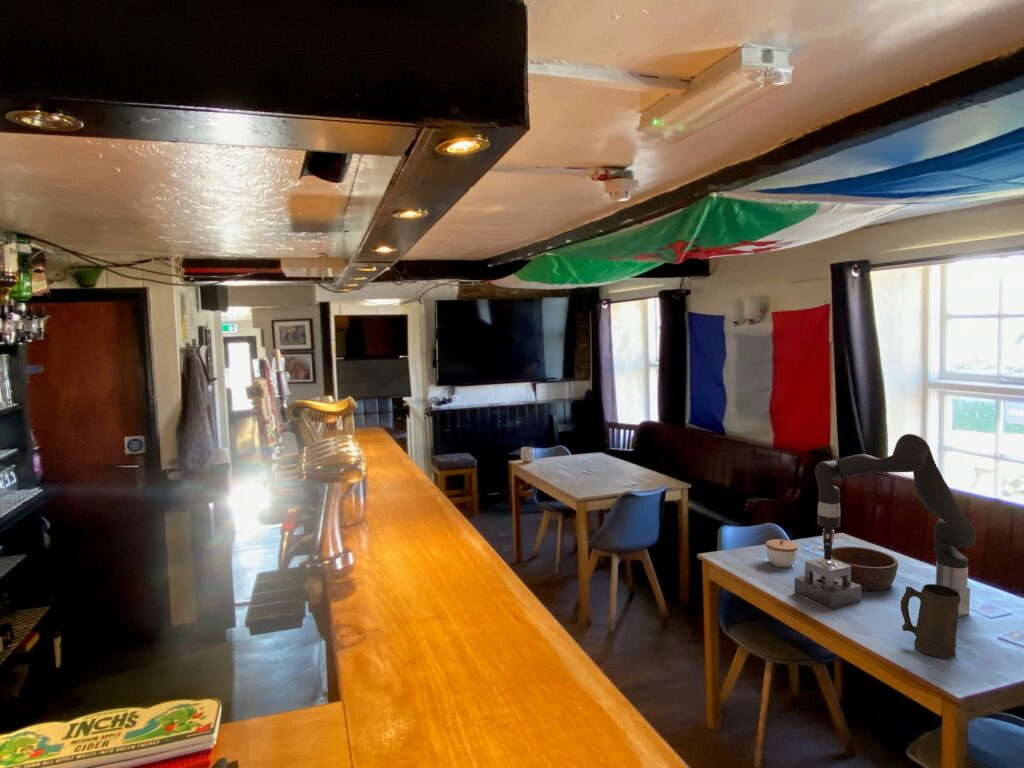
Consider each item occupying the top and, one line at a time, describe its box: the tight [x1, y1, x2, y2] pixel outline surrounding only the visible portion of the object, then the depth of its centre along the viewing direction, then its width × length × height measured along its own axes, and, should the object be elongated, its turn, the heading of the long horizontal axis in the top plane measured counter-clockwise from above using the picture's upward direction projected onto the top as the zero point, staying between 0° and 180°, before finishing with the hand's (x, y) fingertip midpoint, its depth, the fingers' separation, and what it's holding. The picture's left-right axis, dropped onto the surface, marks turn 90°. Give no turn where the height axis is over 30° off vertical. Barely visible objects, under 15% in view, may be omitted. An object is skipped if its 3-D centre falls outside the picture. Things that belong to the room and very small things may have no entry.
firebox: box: [794, 556, 862, 610], centre depth 235 cm, size 16×16×13 cm
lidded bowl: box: [765, 538, 799, 568], centre depth 268 cm, size 13×13×11 cm
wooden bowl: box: [831, 545, 899, 591], centre depth 249 cm, size 25×25×10 cm
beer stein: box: [900, 583, 961, 659], centre depth 195 cm, size 15×11×20 cm
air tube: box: [821, 559, 834, 584], centre depth 235 cm, size 4×4×14 cm
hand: (828, 555), depth 234 cm, fingers open, 8 cm apart
